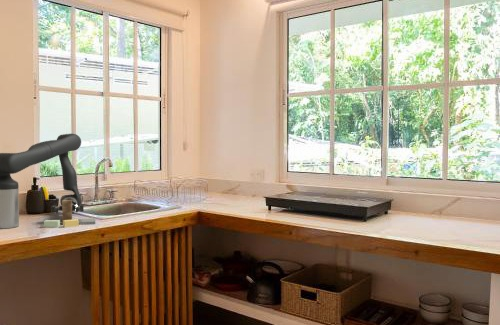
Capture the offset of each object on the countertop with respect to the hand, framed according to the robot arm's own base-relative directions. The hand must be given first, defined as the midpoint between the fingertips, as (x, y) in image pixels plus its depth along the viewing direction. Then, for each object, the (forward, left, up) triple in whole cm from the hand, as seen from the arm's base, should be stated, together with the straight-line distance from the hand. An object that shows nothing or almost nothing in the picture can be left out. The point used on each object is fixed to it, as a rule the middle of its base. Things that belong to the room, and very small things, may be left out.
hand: (66, 210), depth 207 cm
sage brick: (-6, -4, -7) cm, 10 cm away
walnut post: (0, +2, -6) cm, 7 cm away
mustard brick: (+2, -5, -7) cm, 9 cm away
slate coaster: (+8, +2, -6) cm, 11 cm away
